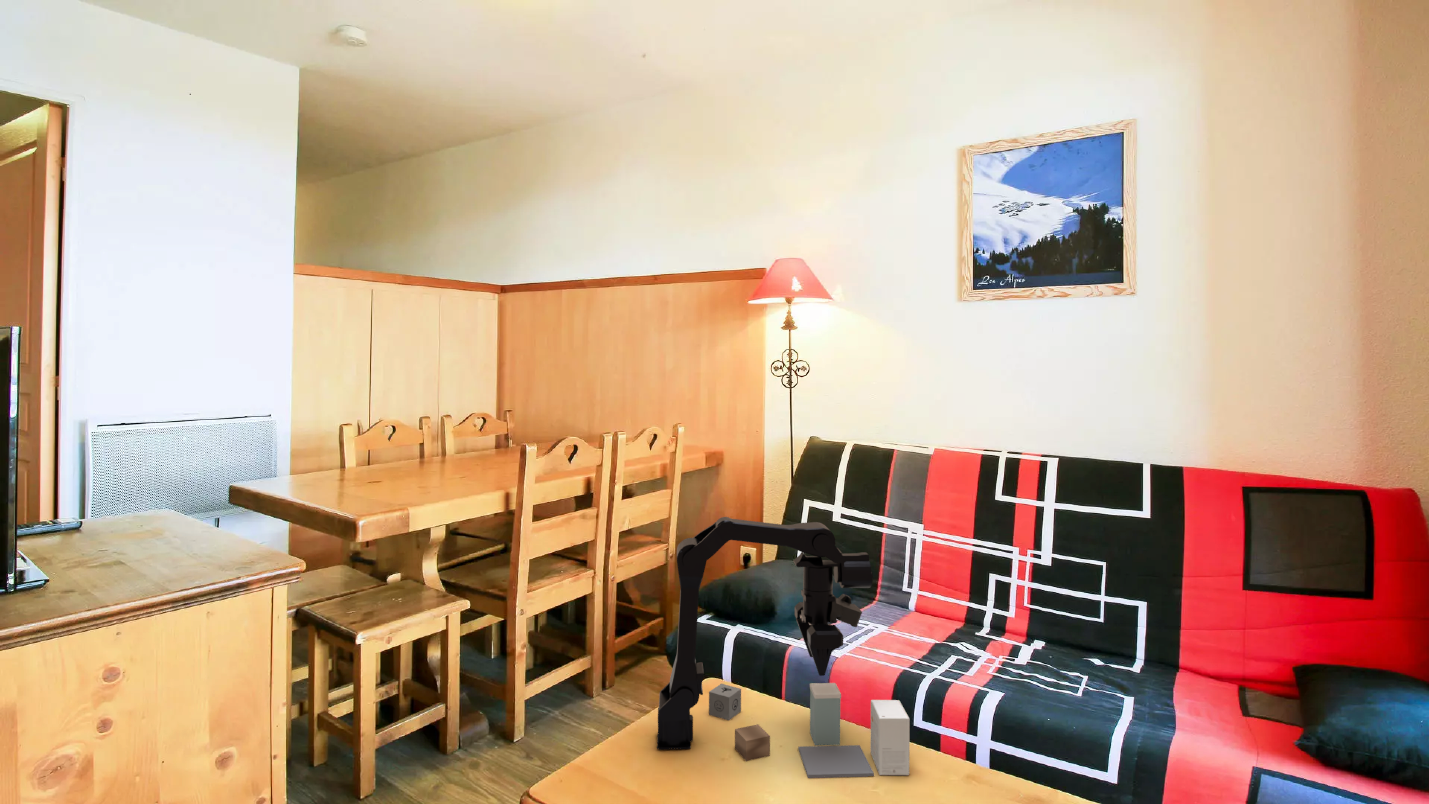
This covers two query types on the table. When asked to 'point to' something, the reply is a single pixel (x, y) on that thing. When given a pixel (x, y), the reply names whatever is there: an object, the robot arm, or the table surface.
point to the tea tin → (825, 713)
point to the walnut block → (752, 742)
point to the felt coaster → (835, 761)
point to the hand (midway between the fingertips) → (817, 665)
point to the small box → (890, 737)
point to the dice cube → (724, 701)
